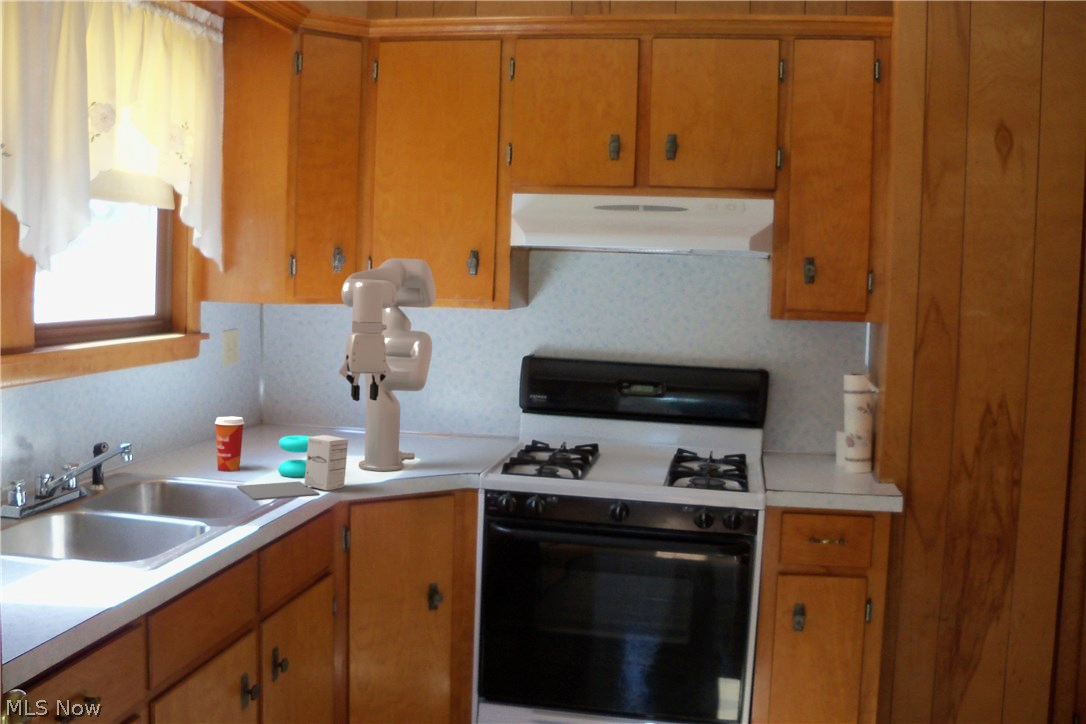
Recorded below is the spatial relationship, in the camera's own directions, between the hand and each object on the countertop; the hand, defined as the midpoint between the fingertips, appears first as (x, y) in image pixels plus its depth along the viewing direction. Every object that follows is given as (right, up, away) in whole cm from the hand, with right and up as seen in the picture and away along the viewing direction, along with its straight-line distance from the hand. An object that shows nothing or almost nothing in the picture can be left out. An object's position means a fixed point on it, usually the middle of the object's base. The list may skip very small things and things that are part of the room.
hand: (364, 399), depth 254 cm
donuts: (-20, -21, +11) cm, 31 cm away
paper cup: (-39, -20, +13) cm, 46 cm away
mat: (-20, -22, -10) cm, 31 cm away
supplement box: (-10, -22, -4) cm, 24 cm away
